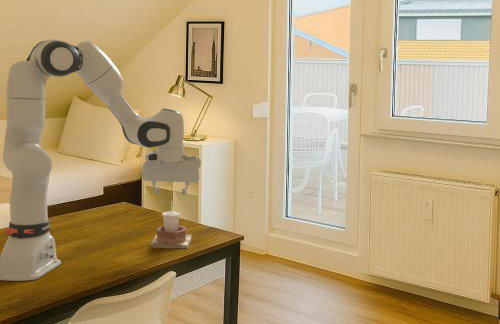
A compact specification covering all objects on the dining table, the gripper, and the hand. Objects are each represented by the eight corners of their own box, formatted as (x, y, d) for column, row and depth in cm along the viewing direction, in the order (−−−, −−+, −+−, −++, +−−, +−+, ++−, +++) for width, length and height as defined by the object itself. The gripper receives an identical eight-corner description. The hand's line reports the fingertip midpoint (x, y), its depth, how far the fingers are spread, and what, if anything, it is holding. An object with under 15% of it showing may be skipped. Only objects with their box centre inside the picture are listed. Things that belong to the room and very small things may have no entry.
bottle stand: (187, 248, 214) (187, 234, 214) (150, 247, 215) (150, 233, 214) (191, 237, 227) (191, 224, 226) (156, 236, 228) (156, 223, 227)
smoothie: (183, 238, 223) (182, 200, 221) (175, 243, 217) (175, 204, 214) (166, 236, 225) (166, 198, 222) (159, 241, 219) (158, 202, 216)
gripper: (201, 154, 218) (201, 192, 221) (144, 152, 219) (144, 190, 221) (199, 157, 212) (199, 196, 214) (140, 155, 213) (140, 194, 215)
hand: (170, 193), depth 218 cm, fingers open, 8 cm apart
